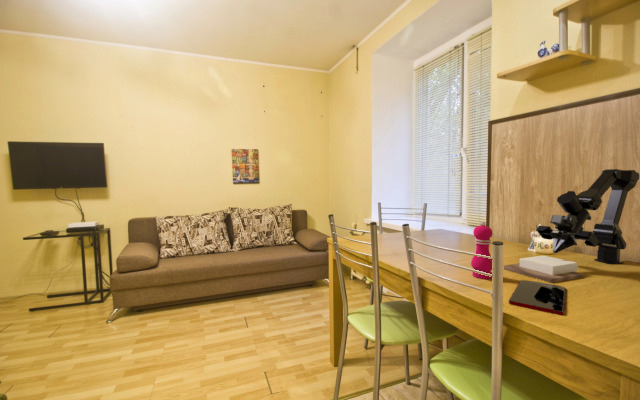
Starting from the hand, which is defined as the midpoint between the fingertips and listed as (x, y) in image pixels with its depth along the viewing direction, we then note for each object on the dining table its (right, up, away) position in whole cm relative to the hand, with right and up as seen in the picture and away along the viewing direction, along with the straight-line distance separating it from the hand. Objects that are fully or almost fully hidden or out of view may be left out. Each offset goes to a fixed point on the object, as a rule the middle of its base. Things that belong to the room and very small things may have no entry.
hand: (554, 252), depth 113 cm
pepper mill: (-30, -8, -5) cm, 31 cm away
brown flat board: (-7, -7, -2) cm, 10 cm away
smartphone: (-23, -10, -24) cm, 35 cm away
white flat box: (+3, -4, +1) cm, 5 cm away
